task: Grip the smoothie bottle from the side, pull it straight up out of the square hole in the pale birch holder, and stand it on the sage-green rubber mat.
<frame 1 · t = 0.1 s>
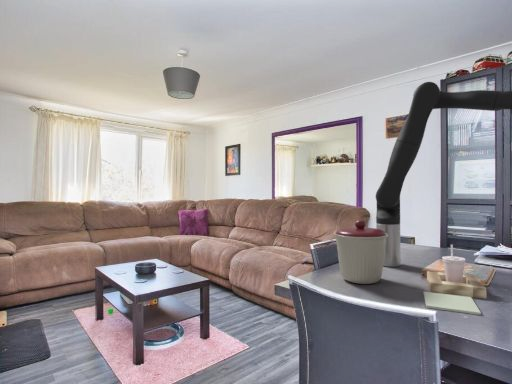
smoothie: (453, 289, 97), resting in holder
canister: (360, 280, 107), on the table
mat: (449, 303, 85), on the table
holder: (453, 288, 97), on the table
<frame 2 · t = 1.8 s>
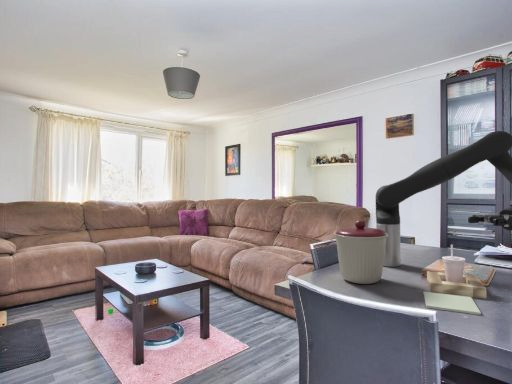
hand: (481, 221, 99), 21 cm above the table, tool horizontal, fingers open, 8 cm apart
nothing on the table moved.
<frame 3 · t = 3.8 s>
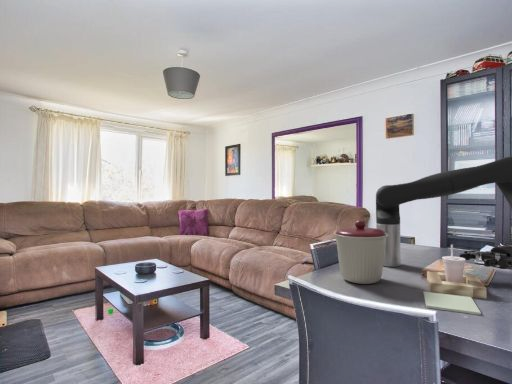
hand: (472, 260, 99), 8 cm above the table, tool horizontal, fingers open, 8 cm apart
nothing on the table moved.
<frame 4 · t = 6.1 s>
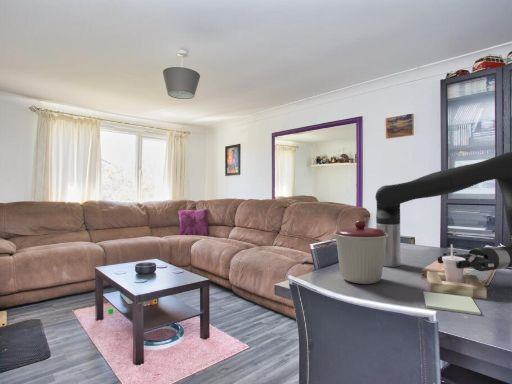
hand: (447, 262, 96), 9 cm above the table, tool horizontal, fingers closed on smoothie, 6 cm apart
smoothie: (453, 289, 97), resting in holder, touching gripper
everything else where it was.
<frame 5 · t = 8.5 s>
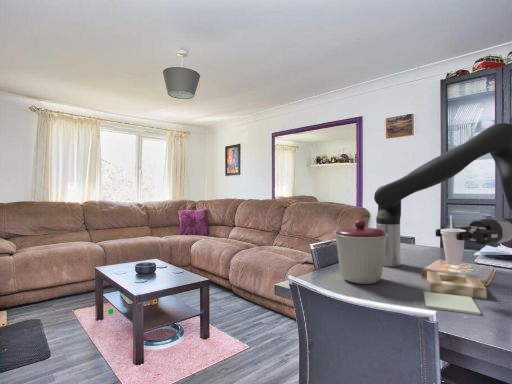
hand: (446, 234, 87), 19 cm above the table, tool horizontal, fingers closed on smoothie, 6 cm apart
smoothie: (453, 264, 88), point 10 cm above the table, touching gripper
everything else where it was.
when the fingers open (10 cm above the table, at t = 11.0 s): smoothie drops 1 cm, resting on mat.
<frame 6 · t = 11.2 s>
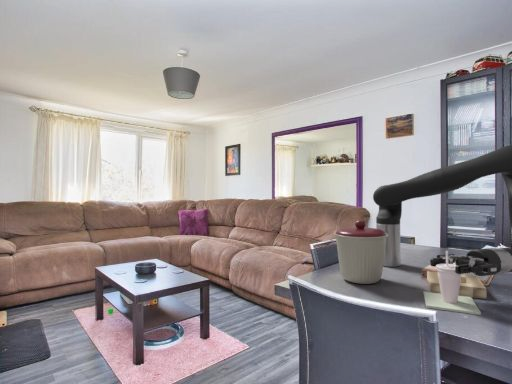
hand: (443, 265, 84), 11 cm above the table, tool horizontal, fingers open, 8 cm apart
smoothie: (449, 301, 85), resting on mat
everything else where it was.
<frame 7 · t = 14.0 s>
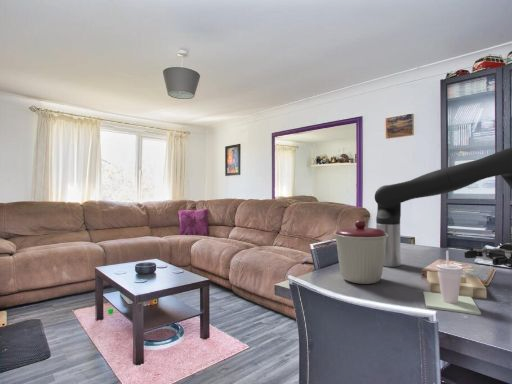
hand: (479, 257, 88), 12 cm above the table, tool horizontal, fingers open, 8 cm apart
nothing on the table moved.
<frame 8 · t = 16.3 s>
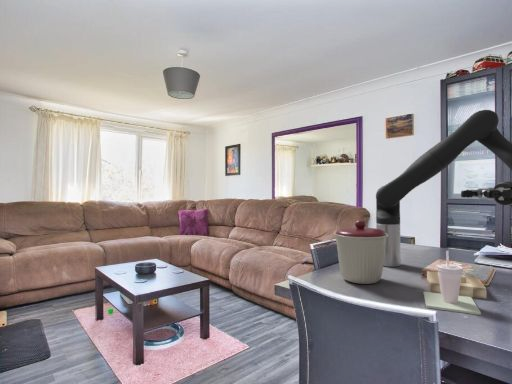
hand: (474, 194, 94), 30 cm above the table, tool horizontal, fingers open, 8 cm apart
nothing on the table moved.
at the end: smoothie inside the target area on the mat (0.2 cm from its centre), point 0.4 cm above the mat's base; smoothie tilted 0°; the gripper is holding nothing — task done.
